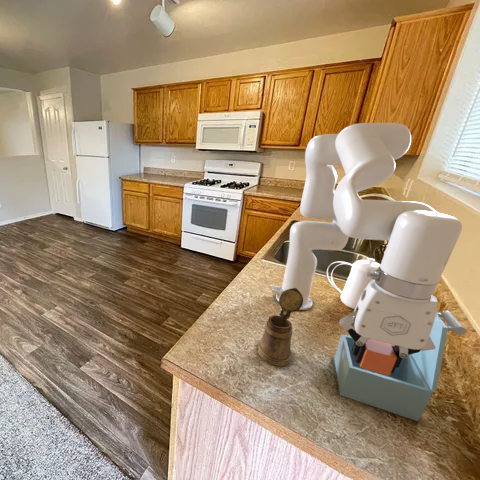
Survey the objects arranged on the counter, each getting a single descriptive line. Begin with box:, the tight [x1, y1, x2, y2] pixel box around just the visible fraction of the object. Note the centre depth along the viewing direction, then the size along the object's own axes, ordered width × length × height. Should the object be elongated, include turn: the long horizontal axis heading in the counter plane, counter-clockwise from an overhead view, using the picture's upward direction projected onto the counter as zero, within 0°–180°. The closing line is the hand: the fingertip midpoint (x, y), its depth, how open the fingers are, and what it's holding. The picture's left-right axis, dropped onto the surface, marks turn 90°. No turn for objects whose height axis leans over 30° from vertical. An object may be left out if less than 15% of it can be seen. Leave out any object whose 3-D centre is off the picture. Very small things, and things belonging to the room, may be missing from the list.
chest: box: [333, 333, 434, 422], centre depth 65 cm, size 15×13×9 cm
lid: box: [412, 310, 467, 392], centre depth 57 cm, size 15×13×5 cm
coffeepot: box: [326, 257, 381, 310], centre depth 96 cm, size 11×25×19 cm, turn 44°
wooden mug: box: [257, 288, 303, 367], centre depth 74 cm, size 9×14×18 cm, turn 136°
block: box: [360, 338, 397, 376], centre depth 52 cm, size 4×4×4 cm
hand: (372, 361), depth 52 cm, fingers closed on block, 4 cm apart
